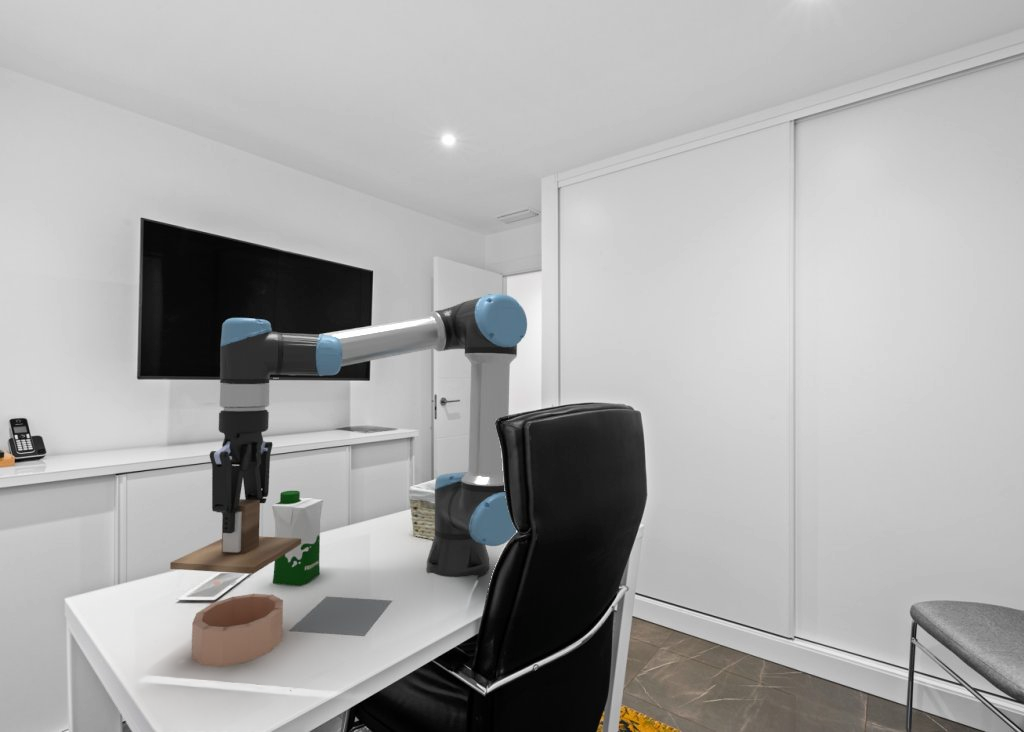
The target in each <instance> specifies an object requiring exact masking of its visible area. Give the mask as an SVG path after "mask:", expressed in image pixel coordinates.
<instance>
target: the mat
mask: <svg viewBox="0 0 1024 732" xmlns="http://www.w3.org/2000/svg"><path fill="white" fill-rule="evenodd" d="M392 602H393V600H391V599H390V600H388V599H374V598H373V599H372V598H357V597H355V598H354V597H344V596H343V597H341V596H325V598H322V600H321V601H320V602H318V603H317V604H316V605H315V607H313V608H312V609H311V610H310V611H308V613H306V615H305V616H304V617H302V618H301V619H300V620H299V621H298V622H297V623H296V624H294V625H293V626H292V627H291V628H290V629H289V630H288V631H289V632H301V633H312V634H313V633H314V634H330V635H341V636H343V635H344V636H355V637H357V636H358V637H365V636H366V635H367V634H368V632H369V631H370V630H371V629H372V628H373V626H374V625H375V624H376V622H377V621H378V620H379V618H380V617H381V616H382V615H383V614H384V612H385V611H386V610H387V608H388V607H389V606H390V604H391V603H392Z"/></svg>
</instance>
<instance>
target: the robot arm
mask: <svg viewBox="0 0 1024 732" xmlns="http://www.w3.org/2000/svg"><path fill="white" fill-rule="evenodd" d="M526 315H527V314H526V312H525V309H524V308H523V306H522V305H521V304H520V303H519V302H518V300H517V299H516V298H514V297H512V296H511V295H508V294H505V293H494V294H488V293H487V294H486V295H482V296H481V297H478V298H473V299H470V300H466V301H463V302H460V303H458V304H456V305H452V306H450V307H446V308H444V309H438V310H433V311H430V312H429V313H428V314H427V316H424V317H416V318H411V319H404V320H399V321H393V322H386V323H379V324H374V325H366V326H363V327H355V328H350V329H349V328H348V329H343V330H338V331H331V332H330V331H329V332H325V333H319V334H313V333H291V332H290V333H289V332H287V333H286V332H278V331H273V329H272V324H271V322H270V321H268V320H266V319H260V318H249V317H231V318H228V319H226V320H225V321H224V322H223V323H222V325H221V338H220V353H219V354H220V355H219V356H220V358H219V359H220V362H219V367H220V372H219V383H220V384H219V385H220V386H219V387H220V389H219V407H221V408H222V409H223V410H220V411H219V413H218V431H219V432H220V433H221V434H223V435H224V438H223V442H222V444H221V446H222V447H221V448H220V449H219V450H211V451H210V452H209V459H210V462H211V469H212V470H211V474H212V476H211V479H212V480H211V481H212V482H211V483H212V484H211V485H212V486H211V489H212V491H211V492H212V493H211V510H212V512H216V513H220V514H222V519H221V522H222V523H221V526H222V528H221V533H222V532H223V552H240V551H241V519H242V511H238V507H239V501H240V499H241V493H242V486H243V491H244V497H245V498H244V499H246V500H260V504H265V503H267V497H268V496H269V492H270V491H269V488H270V487H269V486H270V467H271V466H270V465H271V463H270V462H271V452H272V449H273V441H264V437H263V434H262V433H265V432H266V431H268V430H269V422H270V421H269V418H270V414H269V413H270V412H269V411H268V410H267V409H266V408H268V407H269V406H270V376H271V375H276V376H277V375H278V376H279V375H286V376H287V375H288V376H290V377H291V376H294V377H295V376H319V377H322V376H335V375H337V374H339V372H340V370H341V368H342V367H345V366H350V365H354V364H360V363H364V362H371V361H374V360H375V361H376V360H381V359H385V358H392V357H395V356H400V355H406V354H412V353H417V352H422V351H427V350H432V349H434V350H435V351H436V352H443V351H444V352H445V351H449V350H464V356H465V357H466V358H467V360H468V361H469V362H470V364H471V365H470V393H469V394H470V401H469V402H470V403H469V404H470V405H469V432H468V433H469V435H468V436H469V438H468V441H469V442H468V470H467V471H465V472H464V471H463V472H451V473H444V474H441V475H438V476H437V477H436V478H435V479H436V483H435V489H434V491H435V536H434V540H432V543H431V547H430V550H429V552H428V556H427V558H426V572H427V574H434V575H437V576H440V577H447V578H464V577H471V576H475V577H476V576H477V578H479V577H481V576H483V575H485V574H487V573H488V572H489V571H490V556H489V553H488V550H487V546H488V547H497V546H502V545H504V544H506V543H507V542H508V541H511V539H512V538H513V537H514V535H515V534H516V533H517V532H516V529H515V528H514V526H513V524H512V521H511V518H510V515H509V512H508V508H507V502H506V498H505V491H504V482H503V471H502V458H501V448H500V443H499V439H498V435H497V431H496V427H495V421H496V419H498V418H500V417H503V416H508V415H509V414H510V413H509V412H510V411H509V409H510V408H509V407H510V369H511V368H510V367H511V363H512V362H513V361H514V360H515V359H516V358H517V356H518V355H517V354H518V344H519V343H520V342H521V341H522V339H524V338H525V336H526V334H527V330H528V318H527V316H526ZM231 504H232V505H231ZM511 537H512V538H511Z"/></svg>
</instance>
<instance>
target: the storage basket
mask: <svg viewBox="0 0 1024 732" xmlns="http://www.w3.org/2000/svg"><path fill="white" fill-rule="evenodd" d="M436 479H437V478H435V479H431V480H429V481H426V482H422V483H418V484H415V485H412V486H410V487H409V488H408V498H409V503H410V511H411V512H410V514H411V522H412V535H413V536H414V537H416V536H417V537H416V538H422V537H423V538H422V539H425V538H428V540H430V539H433V540H434V536H435V491H434V489H435V483H436ZM433 540H432V541H433Z"/></svg>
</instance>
